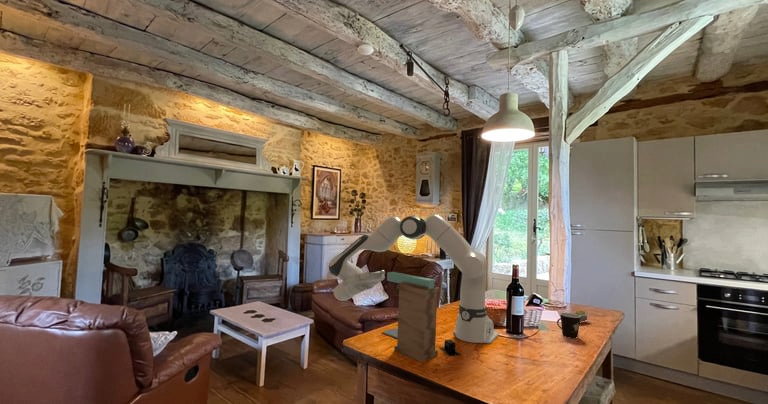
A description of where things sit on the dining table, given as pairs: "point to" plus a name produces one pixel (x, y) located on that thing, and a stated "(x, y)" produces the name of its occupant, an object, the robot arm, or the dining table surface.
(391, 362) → the dining table surface
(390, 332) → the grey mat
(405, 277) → the teal square bar
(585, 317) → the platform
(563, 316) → the coffee mug
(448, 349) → the black block on plate
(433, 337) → the walnut stand
